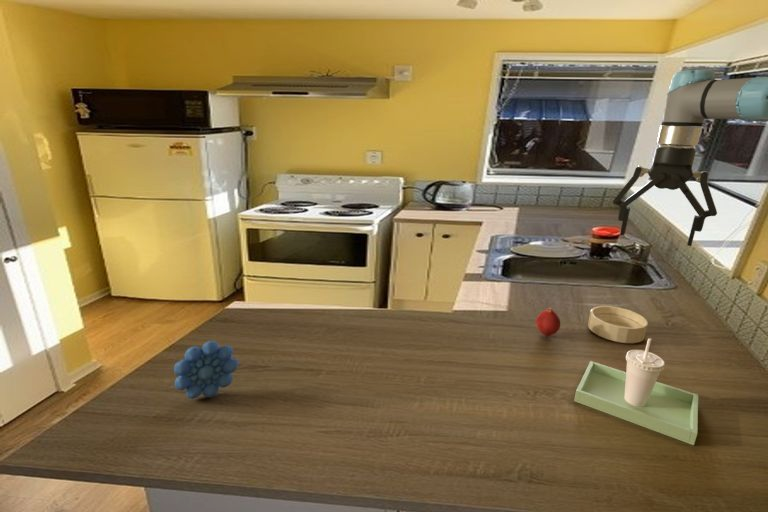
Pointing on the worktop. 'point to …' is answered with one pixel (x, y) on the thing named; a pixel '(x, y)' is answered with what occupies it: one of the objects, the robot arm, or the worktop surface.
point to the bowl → (617, 324)
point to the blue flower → (205, 369)
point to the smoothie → (641, 375)
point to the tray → (661, 413)
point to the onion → (548, 322)
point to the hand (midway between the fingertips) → (654, 239)
